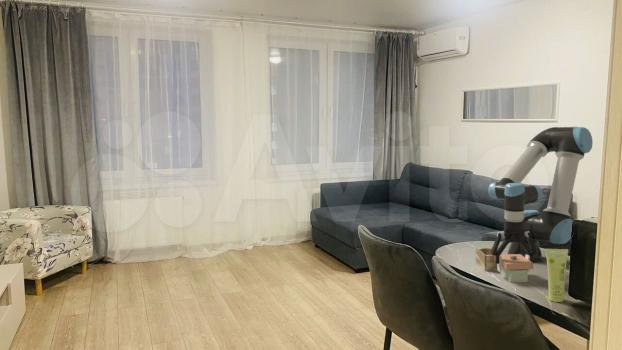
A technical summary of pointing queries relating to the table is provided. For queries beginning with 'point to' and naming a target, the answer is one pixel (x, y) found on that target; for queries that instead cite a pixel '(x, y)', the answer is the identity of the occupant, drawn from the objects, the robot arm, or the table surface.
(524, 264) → the lid
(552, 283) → the tube
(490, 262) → the box
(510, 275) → the pale green rectangular block
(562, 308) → the table surface
